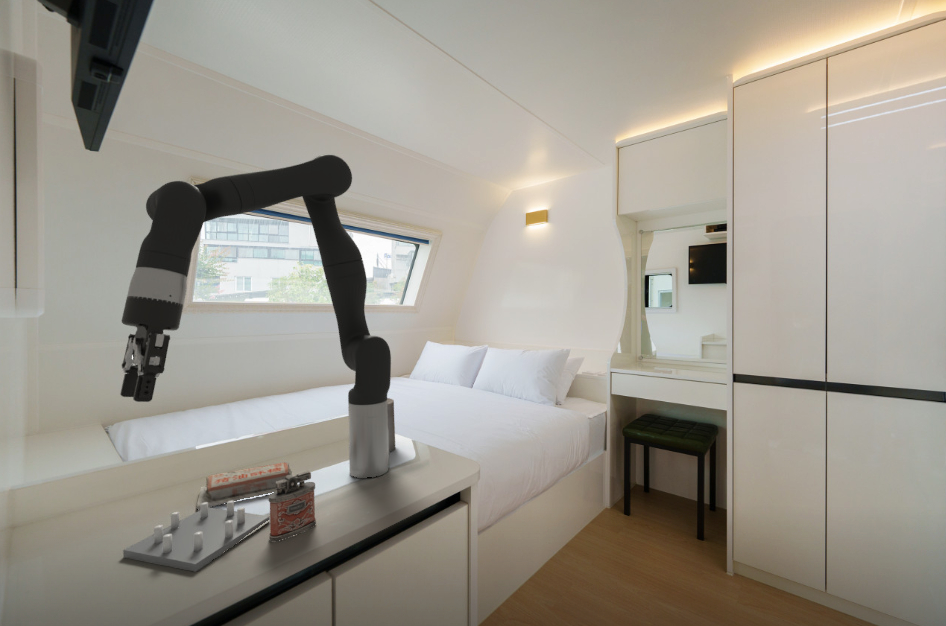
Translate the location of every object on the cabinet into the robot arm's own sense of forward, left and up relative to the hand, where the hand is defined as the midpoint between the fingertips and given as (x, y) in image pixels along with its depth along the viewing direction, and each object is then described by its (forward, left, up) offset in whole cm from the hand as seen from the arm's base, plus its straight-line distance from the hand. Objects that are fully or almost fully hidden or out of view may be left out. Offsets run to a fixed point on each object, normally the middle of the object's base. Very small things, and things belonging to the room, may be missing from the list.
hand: (135, 399), depth 66 cm
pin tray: (-8, +4, -26) cm, 27 cm away
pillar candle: (-57, +11, -26) cm, 63 cm away
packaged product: (-25, -4, -26) cm, 37 cm away
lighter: (-14, +18, -26) cm, 34 cm away
